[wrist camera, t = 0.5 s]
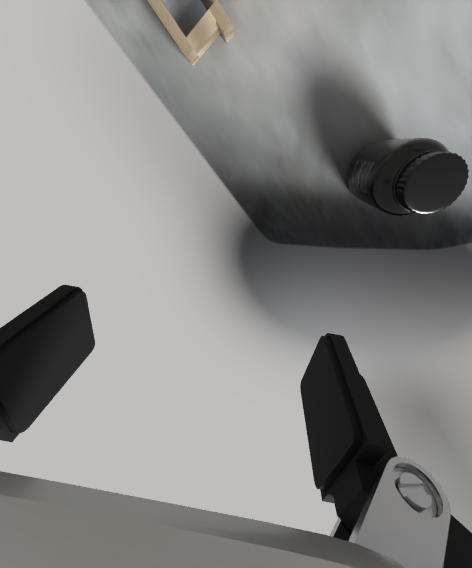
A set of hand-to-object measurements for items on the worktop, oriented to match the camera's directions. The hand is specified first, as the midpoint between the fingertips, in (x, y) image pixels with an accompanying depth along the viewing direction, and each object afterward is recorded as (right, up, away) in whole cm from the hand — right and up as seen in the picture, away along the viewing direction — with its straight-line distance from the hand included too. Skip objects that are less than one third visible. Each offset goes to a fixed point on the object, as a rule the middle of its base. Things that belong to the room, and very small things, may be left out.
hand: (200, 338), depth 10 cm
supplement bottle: (+19, +16, +21) cm, 32 cm away
